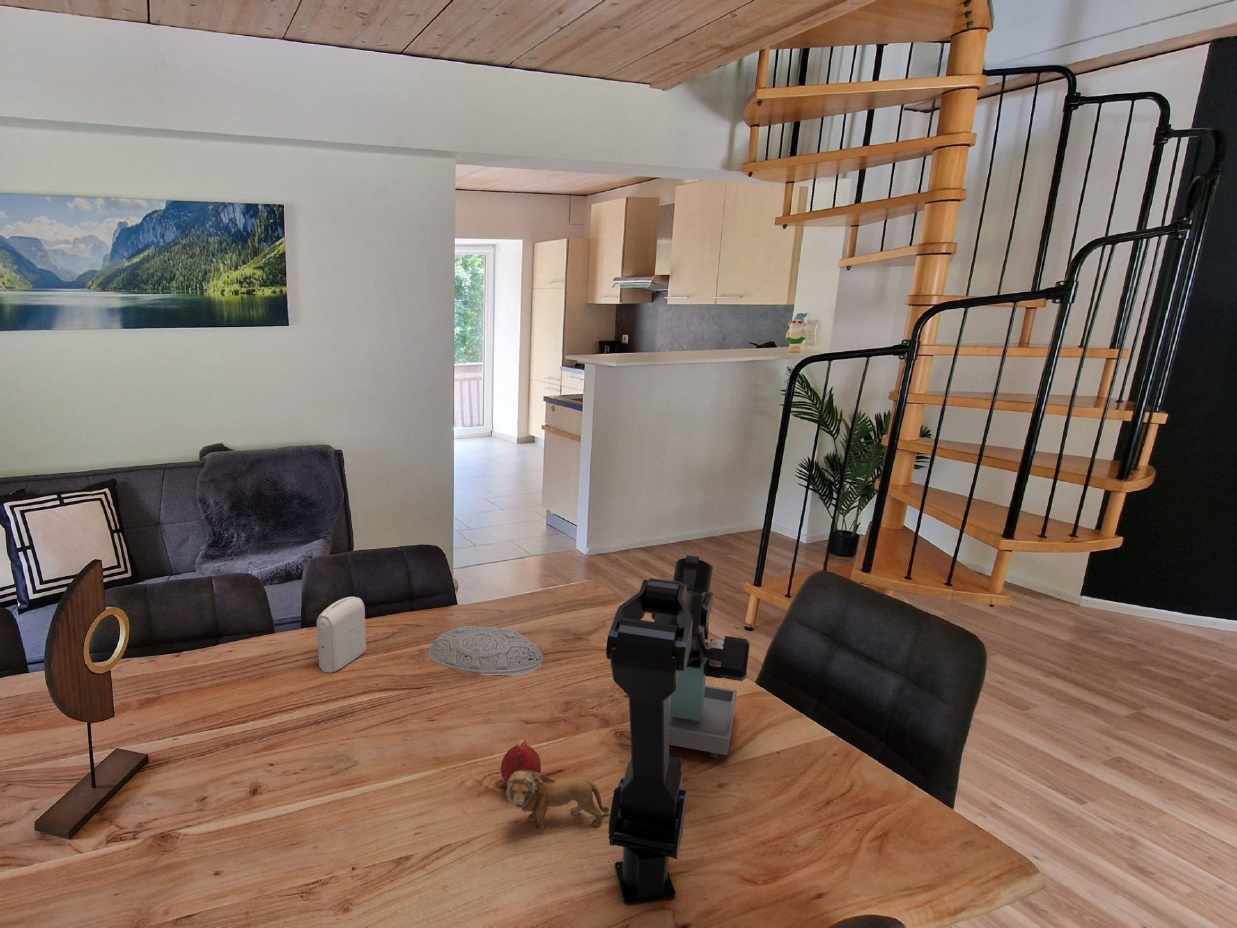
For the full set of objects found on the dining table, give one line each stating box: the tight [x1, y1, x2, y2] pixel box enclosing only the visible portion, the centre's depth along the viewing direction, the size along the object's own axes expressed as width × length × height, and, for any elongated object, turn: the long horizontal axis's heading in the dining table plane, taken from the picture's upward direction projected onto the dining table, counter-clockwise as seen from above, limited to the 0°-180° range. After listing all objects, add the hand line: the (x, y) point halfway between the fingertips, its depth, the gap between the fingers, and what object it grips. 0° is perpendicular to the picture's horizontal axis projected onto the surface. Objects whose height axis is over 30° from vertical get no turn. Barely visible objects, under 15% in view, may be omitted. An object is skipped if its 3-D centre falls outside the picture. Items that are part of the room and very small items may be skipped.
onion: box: [500, 739, 542, 785], centre depth 109 cm, size 6×6×8 cm
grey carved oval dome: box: [427, 625, 544, 677], centre depth 150 cm, size 16×25×7 cm, turn 80°
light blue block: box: [670, 647, 707, 721], centre depth 124 cm, size 5×5×11 cm
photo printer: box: [316, 596, 367, 674], centre depth 144 cm, size 10×4×12 cm, turn 160°
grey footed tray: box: [669, 684, 738, 759], centre depth 126 cm, size 15×15×5 cm
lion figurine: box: [505, 770, 610, 835], centre depth 103 cm, size 15×5×9 cm, turn 110°
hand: (691, 668), depth 125 cm, fingers closed on light blue block, 5 cm apart
